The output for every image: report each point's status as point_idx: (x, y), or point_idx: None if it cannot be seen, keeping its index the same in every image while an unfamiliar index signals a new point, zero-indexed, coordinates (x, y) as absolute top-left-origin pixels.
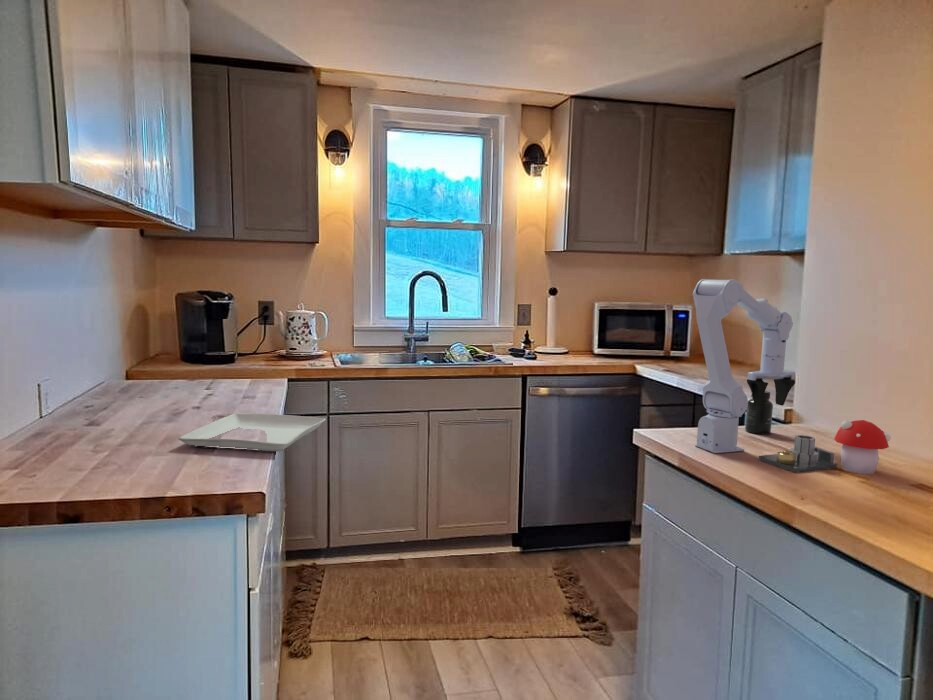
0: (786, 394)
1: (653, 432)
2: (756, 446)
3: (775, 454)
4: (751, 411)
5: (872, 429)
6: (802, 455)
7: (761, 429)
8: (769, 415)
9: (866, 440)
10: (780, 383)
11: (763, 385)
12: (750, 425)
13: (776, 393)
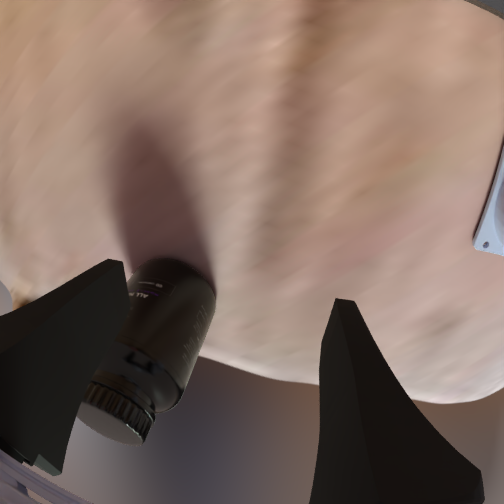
0: (49, 302)
1: (481, 385)
2: (395, 150)
3: (493, 6)
4: (191, 361)
5: None
6: None
7: (187, 277)
8: (132, 305)
9: None
10: (37, 421)
11: (448, 471)
12: (209, 316)
13: (93, 366)
